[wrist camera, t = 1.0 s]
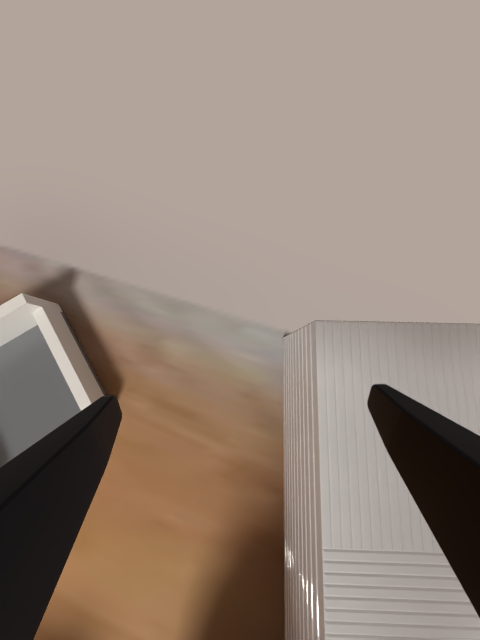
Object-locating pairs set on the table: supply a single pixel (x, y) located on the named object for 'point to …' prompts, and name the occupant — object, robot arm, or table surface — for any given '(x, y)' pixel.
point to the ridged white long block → (368, 482)
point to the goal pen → (39, 373)
